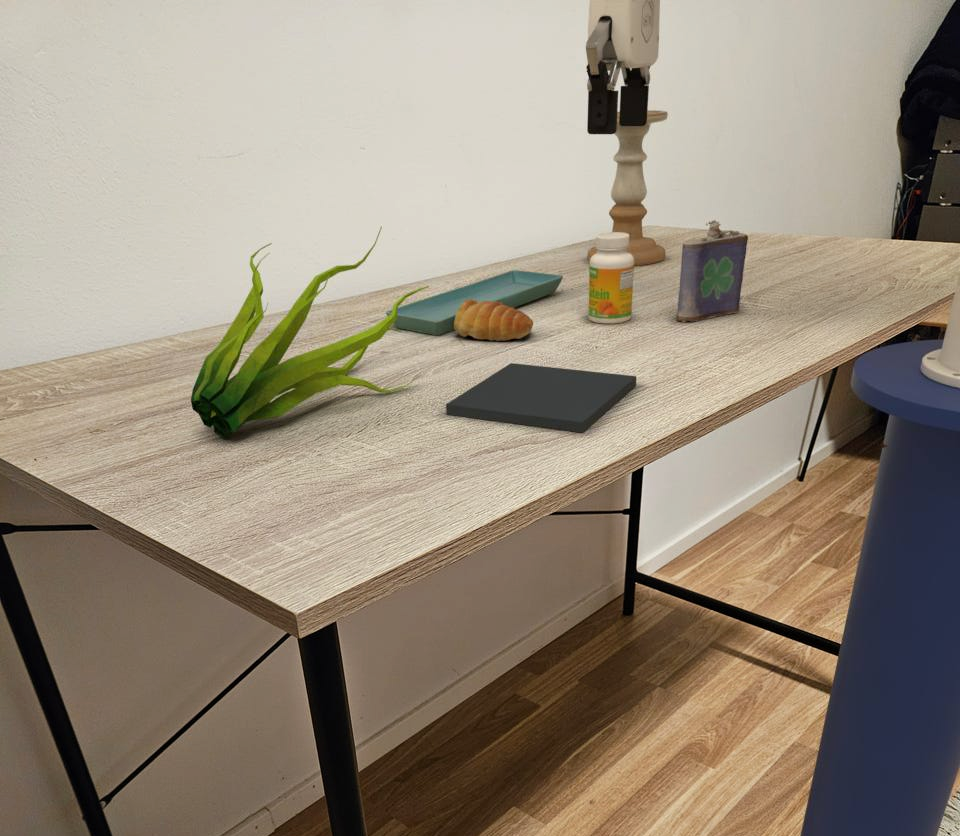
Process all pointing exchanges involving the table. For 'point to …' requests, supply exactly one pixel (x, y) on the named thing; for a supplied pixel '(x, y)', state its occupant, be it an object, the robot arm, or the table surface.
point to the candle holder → (633, 191)
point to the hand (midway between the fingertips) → (617, 129)
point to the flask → (711, 274)
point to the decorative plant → (276, 362)
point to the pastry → (491, 321)
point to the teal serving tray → (504, 288)
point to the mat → (543, 397)
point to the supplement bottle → (611, 279)
